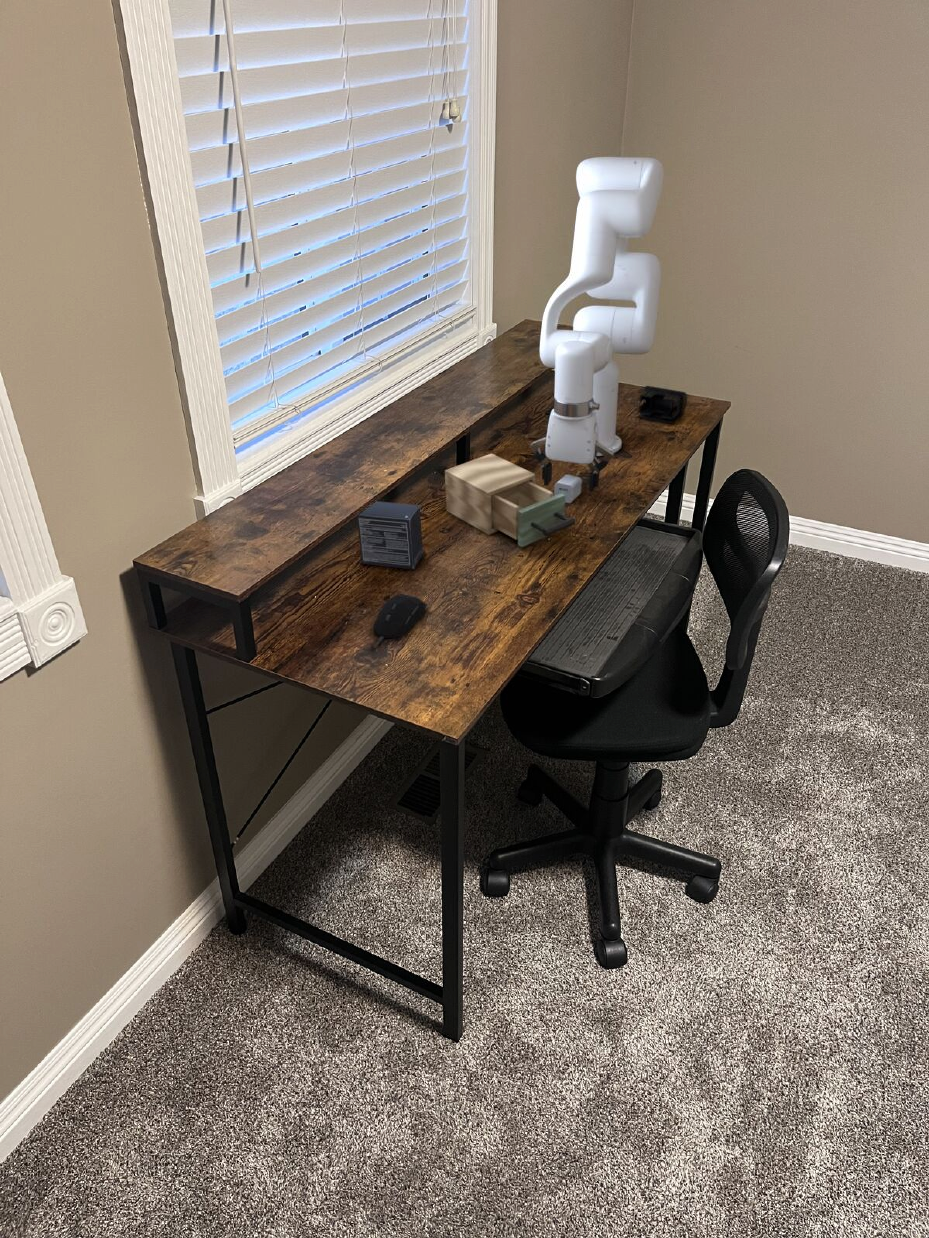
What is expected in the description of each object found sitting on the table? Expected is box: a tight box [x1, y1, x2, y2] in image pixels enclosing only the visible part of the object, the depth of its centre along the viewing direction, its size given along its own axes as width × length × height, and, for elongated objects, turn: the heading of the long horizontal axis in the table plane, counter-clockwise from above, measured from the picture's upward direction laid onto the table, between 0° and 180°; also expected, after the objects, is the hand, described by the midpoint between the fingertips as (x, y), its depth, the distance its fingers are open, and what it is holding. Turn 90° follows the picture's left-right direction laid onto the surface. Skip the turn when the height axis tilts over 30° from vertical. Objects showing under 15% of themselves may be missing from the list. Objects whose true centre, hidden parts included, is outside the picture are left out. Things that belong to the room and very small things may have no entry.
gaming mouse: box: [372, 593, 426, 650], centre depth 154 cm, size 6×15×4 cm, turn 155°
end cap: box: [638, 385, 688, 425], centre depth 225 cm, size 10×7×7 cm
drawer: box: [491, 481, 576, 548], centre depth 177 cm, size 17×11×7 cm, turn 38°
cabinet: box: [444, 453, 536, 536], centre depth 185 cm, size 14×12×9 cm
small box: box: [356, 500, 424, 570], centre depth 171 cm, size 11×6×10 cm, turn 74°
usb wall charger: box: [554, 474, 583, 504], centre depth 192 cm, size 4×7×4 cm, turn 149°
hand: (570, 486), depth 192 cm, fingers open, 9 cm apart
